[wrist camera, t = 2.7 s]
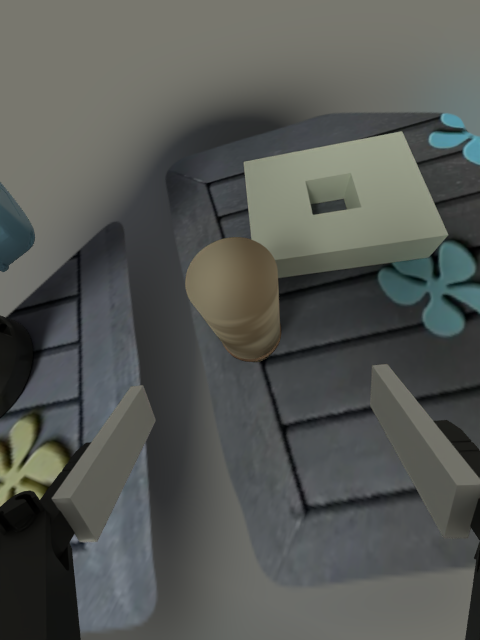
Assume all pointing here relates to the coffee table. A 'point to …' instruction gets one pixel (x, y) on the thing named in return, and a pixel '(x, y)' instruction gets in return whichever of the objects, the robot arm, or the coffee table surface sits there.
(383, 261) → the sage board
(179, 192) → the coffee table surface
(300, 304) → the coffee table surface
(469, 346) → the coffee table surface
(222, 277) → the tan wooden cylinder
